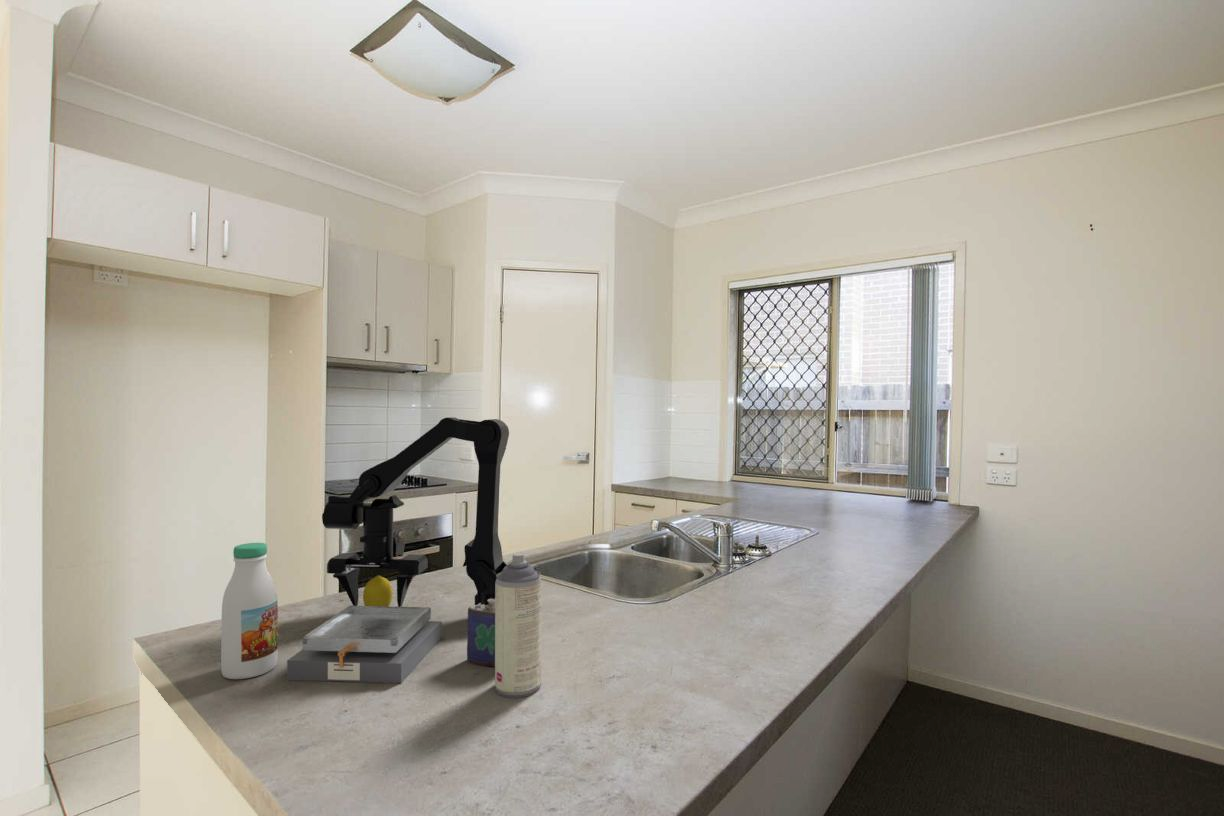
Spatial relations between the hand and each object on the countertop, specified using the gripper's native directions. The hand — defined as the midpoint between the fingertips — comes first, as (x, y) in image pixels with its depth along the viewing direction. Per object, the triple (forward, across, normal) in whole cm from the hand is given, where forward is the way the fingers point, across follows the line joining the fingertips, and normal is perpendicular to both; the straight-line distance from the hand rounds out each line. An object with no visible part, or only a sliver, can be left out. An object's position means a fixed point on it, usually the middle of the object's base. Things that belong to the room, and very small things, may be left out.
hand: (377, 606), depth 121 cm
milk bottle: (+2, +9, +26) cm, 28 cm away
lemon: (+2, 0, 0) cm, 2 cm away
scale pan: (-1, -8, +21) cm, 23 cm away
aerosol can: (+2, -35, +29) cm, 45 cm away
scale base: (+2, -8, +20) cm, 22 cm away
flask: (+2, -29, +21) cm, 36 cm away
